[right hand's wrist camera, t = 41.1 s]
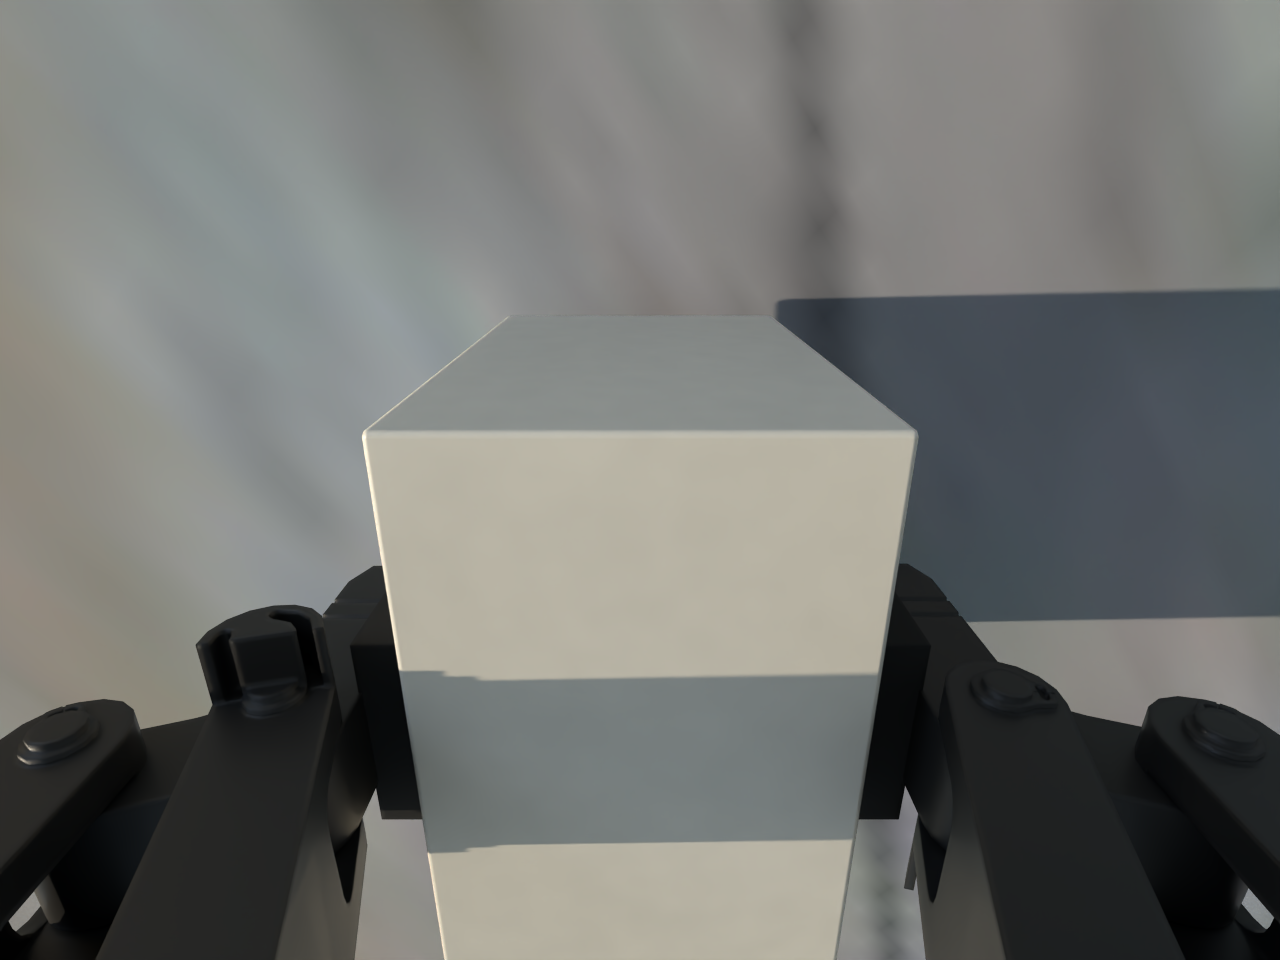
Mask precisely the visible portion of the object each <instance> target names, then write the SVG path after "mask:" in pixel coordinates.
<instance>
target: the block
mask: <svg viewBox="0 0 1280 960" xmlns="http://www.w3.org/2000/svg"><path fill="white" fill-rule="evenodd" d="M918 439H919V436H918V432H917V430H915V429H914V428H913V427H911V426H910V425H909V424H908V423H906V422H905V421H904V420H903V419H901V418H900V417H899V416H897V415H896V414H895V413H894V412H892V411H891V410H890V409H889V408H887V407H886V406H885V405H884V404H882V403H881V402H880V401H878V400H877V399H876V398H875V397H873V396H872V395H871V394H870V393H868V392H867V391H866V390H864V389H863V388H862V387H861V386H859V385H858V384H857V383H856V382H854V381H853V380H852V379H850V378H849V377H848V376H847V375H845V374H844V373H843V372H842V371H840V370H839V369H838V368H836V367H835V366H834V365H833V364H831V363H830V362H829V361H828V360H826V359H825V358H824V357H823V356H821V355H820V354H819V353H817V352H816V351H815V350H814V349H812V348H811V347H810V346H809V345H807V344H806V343H805V342H803V341H802V340H801V339H800V338H798V337H797V336H796V335H795V334H793V333H792V332H791V331H789V330H788V329H787V328H786V327H784V326H783V325H782V324H781V323H779V322H778V321H777V320H775V319H774V318H773V317H771V316H509V317H507V318H506V319H505V320H504V321H502V322H501V323H500V324H499V325H497V326H496V327H495V328H493V329H492V330H491V331H490V332H488V333H487V334H486V335H485V336H483V337H482V338H481V339H480V340H478V341H477V342H476V343H475V344H473V345H472V346H471V347H469V348H468V349H467V350H466V351H464V352H463V353H462V354H461V355H459V356H458V357H457V358H456V359H454V360H453V361H452V362H451V363H449V364H448V365H447V366H446V367H444V368H443V369H442V370H440V371H439V372H438V373H437V374H435V375H434V376H433V377H432V378H430V379H429V380H428V381H427V382H425V383H424V384H423V385H422V386H420V387H419V388H418V389H416V390H415V391H414V392H413V393H411V394H410V395H409V396H408V397H406V398H405V399H404V400H403V401H401V402H400V403H399V404H398V405H396V406H395V407H394V408H393V409H391V410H390V411H389V412H387V413H386V414H385V415H384V416H382V417H381V418H380V419H379V420H377V421H376V422H375V423H374V424H372V425H371V426H370V427H369V428H367V429H366V430H365V431H364V432H363V436H362V440H363V446H364V452H365V459H366V465H367V471H368V478H369V484H370V490H371V497H372V503H373V509H374V516H375V522H376V528H377V535H378V541H379V547H380V554H381V560H382V566H383V573H384V579H385V585H386V592H387V598H388V604H389V611H390V617H391V623H392V630H393V636H394V642H395V649H396V655H397V661H398V667H399V674H400V680H401V686H402V693H403V699H404V705H405V712H406V718H407V724H408V731H409V737H410V743H411V750H412V756H413V762H414V769H415V775H416V781H417V788H418V794H419V800H420V807H421V813H422V819H423V826H424V832H425V838H426V845H427V851H428V857H429V864H430V870H431V876H432V883H433V889H434V895H435V902H436V908H437V914H438V921H439V927H440V933H441V940H442V946H443V952H444V958H445V960H836V959H837V953H838V947H839V940H840V934H841V928H842V921H843V915H844V909H845V902H846V896H847V889H848V883H849V877H850V870H851V864H852V858H853V851H854V845H855V839H856V832H857V826H858V820H859V813H860V807H861V801H862V794H863V788H864V782H865V775H866V769H867V763H868V756H869V750H870V743H871V737H872V731H873V724H874V718H875V712H876V705H877V699H878V693H879V686H880V680H881V674H882V667H883V661H884V655H885V648H886V642H887V636H888V629H889V623H890V617H891V610H892V604H893V597H894V591H895V585H896V578H897V572H898V566H899V559H900V553H901V547H902V540H903V534H904V528H905V521H906V515H907V509H908V502H909V496H910V490H911V483H912V477H913V471H914V464H915V458H916V451H917V445H918Z"/></svg>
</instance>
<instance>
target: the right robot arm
mask: <svg viewBox="0 0 1280 960" xmlns="http://www.w3.org/2000/svg"><path fill="white" fill-rule="evenodd" d="M196 648H197V652H198V655H199V659H200V662H201V666H202V669H203V673H204V676H205V680H206V683H207V687H208V690H209V694H210V697H211V701H212V704H213V705H212V707H211V709H210V712H209V714H208V715H206V716H202V717H198V718H194V719H190V720H185V721H180V722H175V723H170V724H165V725H161V726H156V727H151V728H146V729H141V730H140V727H139V724H138V721H137V718H136V715H135V712H134V710H133V709H132V708H131V707H129V706H128V705H127V704H126V703H124V702H122V701H115V700H107V699H101V700H93V701H86V702H78V703H74V704H70V705H66V707H59V708H57V709H54V710H51V711H48V712H46V713H45V714H43V715H41V716H39V717H37V718H35V719H33V720H31V721H29V722H27V723H25V724H23V725H21V726H20V727H18V728H17V729H15V730H14V731H12V732H11V733H10V734H8V735H7V736H5V737H4V738H2V739H1V740H0V960H354V958H355V949H356V940H357V932H358V923H359V914H360V905H361V896H362V888H363V879H364V870H365V861H366V852H367V840H366V833H365V828H364V823H363V818H362V817H363V815H364V813H365V811H366V808H367V806H368V804H369V802H370V800H371V798H372V795H373V793H374V791H375V789H376V790H377V795H378V801H379V806H380V811H381V817H382V819H422V813H421V807H420V800H419V794H418V788H417V781H416V775H415V769H414V762H413V756H412V750H411V743H410V737H409V731H408V724H407V718H406V712H405V705H404V699H403V693H402V686H401V680H400V674H399V667H398V661H397V655H396V649H395V642H394V636H393V630H392V623H391V617H390V611H389V604H388V598H387V592H386V585H385V579H384V573H383V566H373V567H371V568H370V569H368V570H366V571H365V572H363V573H362V574H360V575H359V576H357V577H355V578H354V579H352V580H351V581H349V582H348V584H347V585H346V586H345V587H344V589H343V590H342V591H341V592H340V594H339V595H338V596H337V598H336V599H335V603H332V604H331V605H330V606H329V608H328V609H327V610H326V611H325V613H324V614H323V618H322V616H321V615H320V614H319V613H317V612H316V611H315V610H313V609H312V608H308V607H303V606H298V605H278V606H270V607H265V608H260V609H256V610H251V611H248V612H245V613H243V614H240V615H238V616H235V617H233V618H230V619H227V620H226V621H224V622H222V623H221V624H219V625H218V626H216V627H214V628H213V629H211V630H209V631H208V632H207V633H206V634H205V635H204V636H203V637H202V638H201V639H200V641H199V642H198V643H197V644H196ZM905 786H906V788H907V790H908V792H909V795H910V797H911V799H912V801H913V803H914V805H915V808H916V810H917V812H918V818H917V823H916V828H915V833H914V838H913V843H912V848H911V853H910V858H909V863H908V868H907V873H906V879H905V886H904V888H905V889H910V890H914V885H915V880H916V877H917V886H918V895H919V903H920V912H921V921H922V930H923V939H924V947H925V956H926V960H1280V735H1279V734H1277V733H1276V732H1274V731H1273V730H1271V729H1270V728H1269V727H1267V726H1266V725H1264V724H1263V723H1261V722H1260V721H1258V720H1256V719H1253V718H1251V717H1249V716H1247V715H1245V714H1243V713H1241V712H1239V711H1237V710H1236V709H1234V708H1231V707H1228V706H1226V705H1223V704H1217V703H1216V702H1212V701H1208V700H1203V699H1196V698H1188V697H1180V696H1176V697H1168V698H1160V699H1158V700H1157V701H1155V702H1154V703H1153V704H1151V705H1150V706H1149V707H1148V710H1147V712H1146V715H1145V718H1144V721H1143V724H1142V727H1139V726H1135V725H1130V724H1125V723H1120V722H1115V721H1110V720H1105V719H1101V718H1096V717H1091V716H1086V715H1082V714H1079V713H1075V712H1071V710H1070V708H1069V706H1068V704H1067V703H1066V701H1065V700H1064V699H1063V697H1062V696H1061V695H1060V693H1059V692H1058V691H1057V690H1056V689H1055V688H1054V687H1052V686H1051V685H1050V684H1048V683H1047V682H1045V681H1044V680H1043V679H1041V678H1040V677H1039V676H1036V675H1034V674H1032V673H1030V672H1027V671H1025V670H1023V669H1021V668H1019V667H1016V666H1012V665H1008V664H1004V663H1000V662H997V660H996V659H995V658H994V657H993V655H992V654H991V653H990V652H989V650H988V649H987V648H986V647H985V645H984V644H983V643H982V642H981V640H980V639H979V638H978V637H977V635H976V634H975V633H974V631H973V630H972V629H971V628H970V626H969V625H968V624H967V623H966V621H965V620H964V619H963V618H962V616H959V615H958V611H957V610H956V609H955V608H954V606H953V605H952V604H951V603H950V601H947V600H946V596H945V595H944V594H943V592H942V591H941V590H940V589H939V587H938V586H937V585H936V584H935V582H934V581H933V580H932V579H931V578H929V577H928V576H926V575H924V574H923V573H921V572H920V571H918V570H916V569H915V568H913V567H912V566H910V565H909V564H899V566H898V572H897V578H896V585H895V591H894V597H893V604H892V610H891V617H890V623H889V629H888V636H887V642H886V648H885V655H884V661H883V667H882V674H881V680H880V686H879V693H878V699H877V705H876V712H875V718H874V724H873V731H872V737H871V743H870V750H869V756H868V763H867V769H866V775H865V782H864V788H863V794H862V801H861V807H860V813H859V819H899V815H900V810H901V804H902V799H903V794H904V788H905ZM1248 888H1249V889H1250V890H1251V891H1252V892H1253V894H1254V895H1255V896H1256V897H1257V898H1258V899H1259V900H1260V902H1261V903H1262V904H1263V905H1264V906H1265V907H1266V909H1267V910H1268V911H1269V912H1270V913H1271V914H1272V915H1273V917H1274V919H1273V921H1272V923H1271V925H1270V927H1269V928H1268V929H1265V928H1264V927H1262V926H1261V925H1260V924H1259V923H1258V922H1257V921H1256V920H1255V919H1254V918H1253V917H1252V916H1251V914H1250V913H1249V912H1248V911H1247V910H1246V908H1245V907H1244V906H1243V905H1242V904H1241V903H1242V901H1243V899H1244V897H1245V895H1246V892H1247V890H1248ZM33 892H35V894H36V896H37V899H38V901H39V903H40V905H41V906H40V908H39V909H38V910H37V911H36V912H35V914H34V915H33V916H32V917H31V918H30V920H29V921H28V922H26V923H25V924H24V925H23V926H22V927H21V928H20V929H18V930H17V931H14V930H13V929H12V927H11V925H10V923H9V920H10V918H11V917H12V916H13V915H14V914H15V913H16V911H17V910H18V909H19V908H20V907H21V906H22V904H23V903H24V902H25V901H26V900H27V899H28V898H29V896H30V895H31V894H32V893H33Z"/></svg>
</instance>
